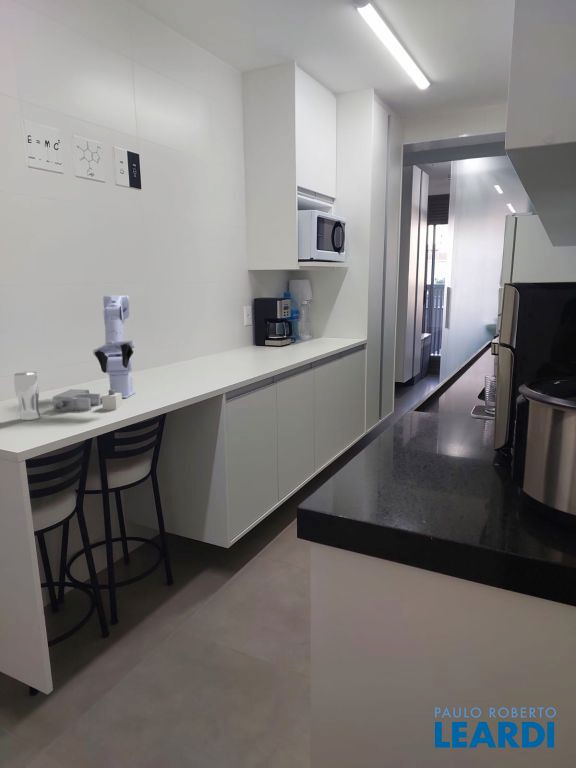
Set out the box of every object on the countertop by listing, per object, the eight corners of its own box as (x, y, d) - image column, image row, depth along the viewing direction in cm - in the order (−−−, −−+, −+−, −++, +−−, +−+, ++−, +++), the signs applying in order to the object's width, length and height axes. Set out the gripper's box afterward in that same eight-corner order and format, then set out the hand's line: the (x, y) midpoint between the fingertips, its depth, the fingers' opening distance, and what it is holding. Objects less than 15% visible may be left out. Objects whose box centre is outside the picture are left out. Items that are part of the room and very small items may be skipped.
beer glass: (28, 422, 162) (23, 376, 159) (13, 419, 165) (8, 374, 162) (46, 416, 168) (42, 372, 165) (32, 414, 171) (27, 371, 168)
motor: (71, 402, 188) (70, 389, 187) (102, 403, 187) (101, 390, 186) (49, 412, 173) (47, 398, 172) (82, 413, 172) (81, 399, 171)
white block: (109, 406, 183) (107, 388, 182) (122, 406, 182) (121, 388, 181) (102, 409, 178) (101, 391, 177) (116, 409, 177) (115, 391, 176)
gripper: (88, 334, 177) (88, 368, 171) (128, 325, 176) (129, 358, 170) (98, 344, 183) (98, 377, 177) (136, 335, 182) (138, 368, 176)
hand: (114, 369), depth 174 cm, fingers open, 7 cm apart
